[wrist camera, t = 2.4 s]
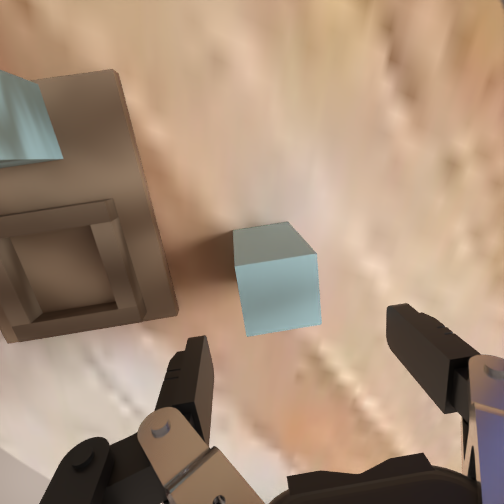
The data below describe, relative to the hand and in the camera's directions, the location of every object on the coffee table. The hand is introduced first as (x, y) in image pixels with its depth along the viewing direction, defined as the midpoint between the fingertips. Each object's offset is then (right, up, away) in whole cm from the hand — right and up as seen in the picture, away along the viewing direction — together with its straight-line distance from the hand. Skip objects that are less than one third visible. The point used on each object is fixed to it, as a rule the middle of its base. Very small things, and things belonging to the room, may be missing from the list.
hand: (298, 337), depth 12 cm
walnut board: (-17, +6, +9) cm, 20 cm away
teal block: (-1, +4, +11) cm, 12 cm away
